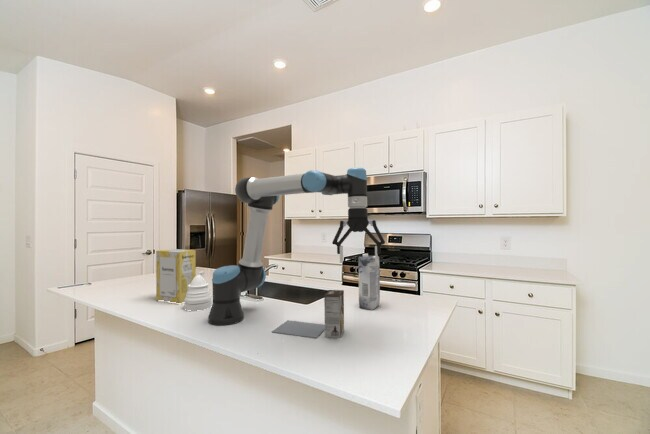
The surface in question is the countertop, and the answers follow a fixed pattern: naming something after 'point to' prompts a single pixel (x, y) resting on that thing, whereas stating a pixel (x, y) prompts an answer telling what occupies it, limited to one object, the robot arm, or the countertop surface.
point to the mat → (300, 329)
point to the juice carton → (369, 282)
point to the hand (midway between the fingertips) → (358, 262)
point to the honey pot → (198, 294)
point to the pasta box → (174, 273)
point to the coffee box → (334, 313)
